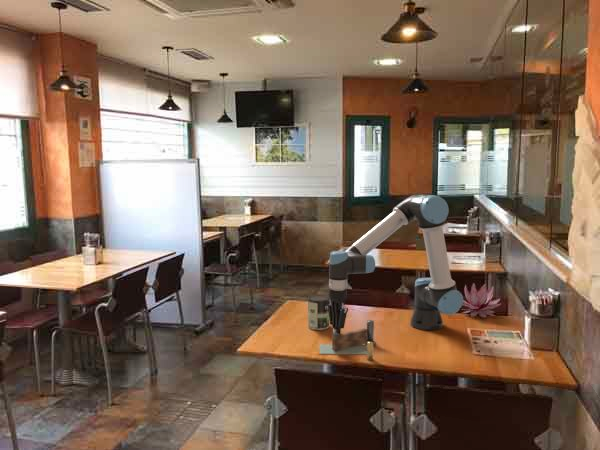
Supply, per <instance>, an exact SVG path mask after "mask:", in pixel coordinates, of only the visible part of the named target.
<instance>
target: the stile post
mask: <svg viewBox="0 0 600 450" xmlns="http://www.w3.org/2000/svg"><path fill="white" fill-rule="evenodd" d="M366 347H367V354H366V361H369V362H370V361H373V360H374V345H373V342H371V341H368V342H367V345H366Z"/></svg>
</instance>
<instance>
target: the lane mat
mask: <svg viewBox="0 0 600 450" xmlns="http://www.w3.org/2000/svg"><path fill="white" fill-rule="evenodd" d="M318 348H319V352H318V353H319V355H367V345H365V344H362V345H358V346H353V347H349V348H345V349H341V350H337V351H334V350H332V343H331V344H328V343H327V344H323V343H322V344H321V343H320V344H319V347H318Z"/></svg>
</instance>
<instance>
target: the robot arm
mask: <svg viewBox="0 0 600 450" xmlns="http://www.w3.org/2000/svg"><path fill="white" fill-rule="evenodd" d="M449 211H450V209H449V205H448V203H447V201H446V200H445V199H444V198H443V197H441V196H438V195H435V194H424V193H423V194H422V193H415V194H412V195H410V196H408V197H407V198H405V199H403V200H402V201H401V202H400V203H398V204H397V205H395V206H394V207H393V208H392V212H391V213H389V214H388V215H387V216H386V217H384V219H382V220H381V221H380V222H379V223H377V224H376V225H375V226H373V227H372V228H371V229H370V230H369V231H367V232H366V233H365V234H363V236H361V237H360V238H359V239H357V241H355V242H354V243H353V244H351V245H350V246H349V247H347V248H342V249H340V250H333V251H331V252H330V253H329V260H328V264H329V266H328V267H329V269H328V271H329V272H328V275H329V276H328V278H329V280H328V288H329V289H328V297H329V301H327V305H328V311H329V326H331V327H332V333H335V332H337V333H339V334H341V329H344V328H345V325H346V319H347V313H348V312H349V307H346V306H345V300H346V298H347V294H348V292H347V291H348V290H347V288H348V275H352V274H353V275H354V274H355V275H356V274H369V273H373V272H374V271H375V270H376V269H375V268H376V260H375V258H374V256H373V255H370V254H369V253H371V252H372V251H373V250H374V249H376V248H377V247H378V246H379V245H380V244H382V242H384V241H386V240H387V238H389V237H391V235H393V234H394V233H395V232H396V231H397V230H399V229H401V227H402V226H403V225H404V226H407V225H408V224H410V223H411V222H413V221H417V227H418V229H419V230H420V231H422V234H423V240H424V247H425V251H426V252H425V253H426V256H427V257H426V258H427V264H428V269H429V275H430V276H429V277H420V278H419V277H418V278H417V279H415V282H414V309H413V312H412V314H411V318H410V322H409V323H410V325H411V327H413V328H415V329H418V330H424V331H436V330H437V331H439V330H441V329H442V328H443V327H444V321H443V317H442V314H444V315H450V316H451V315H455V314H456V313H457V312H459V311H460V310H461V309H460V308H462V306H463V305H462V304H463V303H464V302H463V300H464V297H463V294H462V293H461V292H460V291H459V290H457V284H456V281H455V280H453V279H452V275H451V270H450V264H449V263H450V262H449V257H448V252H447V245H446V239H445V235H444V229H443V228H444V226H445V225H446V220H447V218H448V215H449V213H450V212H449Z"/></svg>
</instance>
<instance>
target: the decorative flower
mask: <svg viewBox="0 0 600 450" xmlns="http://www.w3.org/2000/svg"><path fill="white" fill-rule="evenodd" d="M464 295H465V299H466V300H467V301H466V300H464V299H463V304H462V306H464V307H468V308H466V309H465V308H462V309H461V310H462V311H463V310H464V311H463V312H462V314H468V313H469V315H470V317H474V318H476V316H479V317H480V318H486V319H487V315H488V316H492V317H496V315H495V314H494V311H492V310H491V309H495V308H497V307H499V306H500V305H501V303H498V302H500V300H501V298H497V299H494V300H492V297H493V295H494V286H492V287H490V289H488V288H487V284H486V283H484V284H483V285H482V286H481V287H479V289H478V290H477V288H476V284H475V283H474V282H473V283H472V285H471V288H470V291H469V290H468V287H467V285H466V284H465V286H464Z"/></svg>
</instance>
